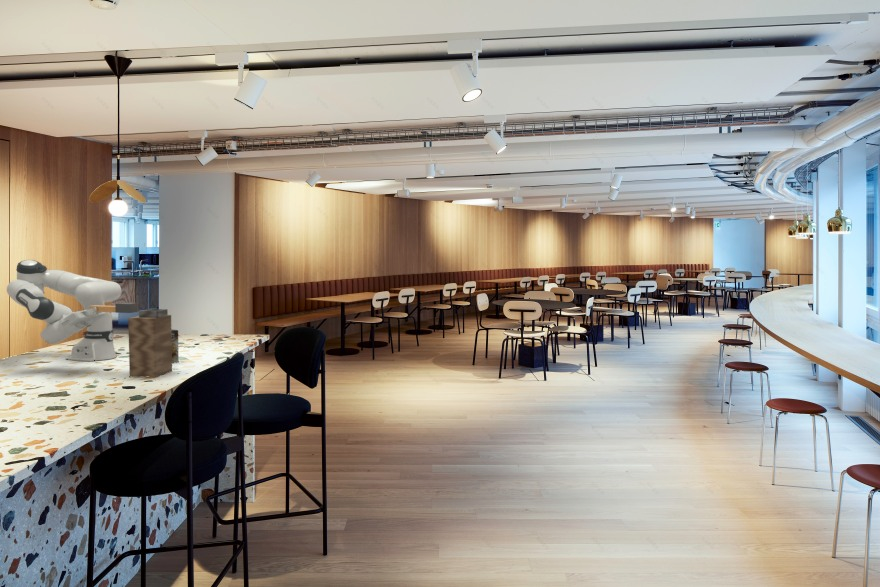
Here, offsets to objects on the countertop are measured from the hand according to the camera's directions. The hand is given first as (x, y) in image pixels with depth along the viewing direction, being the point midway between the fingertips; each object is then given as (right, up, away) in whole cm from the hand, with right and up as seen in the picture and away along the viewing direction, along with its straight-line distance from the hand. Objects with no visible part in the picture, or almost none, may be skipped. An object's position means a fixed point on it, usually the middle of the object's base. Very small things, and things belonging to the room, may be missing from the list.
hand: (100, 307), depth 270 cm
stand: (+23, -30, +1) cm, 38 cm away
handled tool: (+5, -2, 0) cm, 6 cm away
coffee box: (+18, -28, +26) cm, 42 cm away
